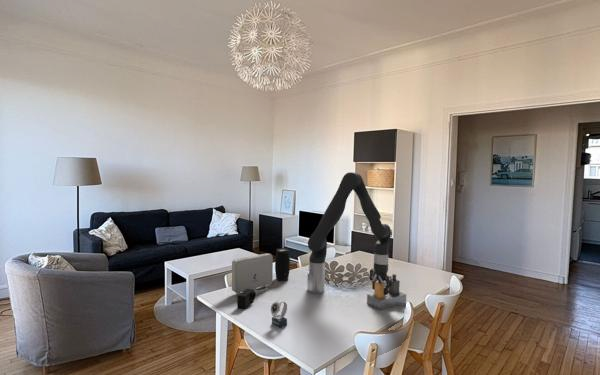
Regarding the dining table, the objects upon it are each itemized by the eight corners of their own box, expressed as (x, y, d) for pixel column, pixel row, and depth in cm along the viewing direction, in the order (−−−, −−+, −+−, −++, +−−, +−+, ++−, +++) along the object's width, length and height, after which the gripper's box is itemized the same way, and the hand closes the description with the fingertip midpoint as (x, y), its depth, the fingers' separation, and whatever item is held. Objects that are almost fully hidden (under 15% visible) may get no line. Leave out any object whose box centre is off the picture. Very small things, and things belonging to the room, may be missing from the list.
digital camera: (246, 310, 166) (247, 296, 165) (237, 308, 168) (237, 295, 167) (255, 302, 176) (256, 289, 175) (246, 300, 177) (246, 288, 177)
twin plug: (393, 300, 177) (394, 276, 176) (388, 297, 181) (388, 274, 180) (398, 298, 179) (399, 275, 178) (393, 296, 183) (394, 273, 182)
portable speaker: (289, 281, 209) (290, 251, 208) (274, 281, 208) (275, 251, 207) (289, 276, 217) (289, 247, 216) (274, 277, 217) (275, 247, 215)
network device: (237, 298, 181) (237, 262, 180) (229, 293, 187) (229, 258, 186) (274, 287, 198) (275, 254, 196) (266, 283, 204) (266, 251, 203)
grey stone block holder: (379, 310, 169) (380, 300, 168) (367, 303, 177) (367, 293, 177) (406, 303, 178) (406, 294, 177) (392, 297, 186) (392, 288, 186)
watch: (268, 325, 150) (268, 301, 150) (281, 319, 156) (282, 297, 155) (276, 329, 146) (276, 305, 146) (289, 324, 152) (290, 300, 151)
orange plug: (379, 303, 172) (380, 279, 172) (374, 300, 176) (374, 276, 175) (385, 302, 174) (385, 278, 173) (379, 299, 178) (380, 275, 177)
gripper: (366, 259, 178) (365, 288, 179) (385, 266, 166) (384, 298, 167) (377, 257, 182) (376, 286, 183) (396, 264, 169) (395, 295, 170)
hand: (379, 292), depth 175 cm, fingers open, 8 cm apart
